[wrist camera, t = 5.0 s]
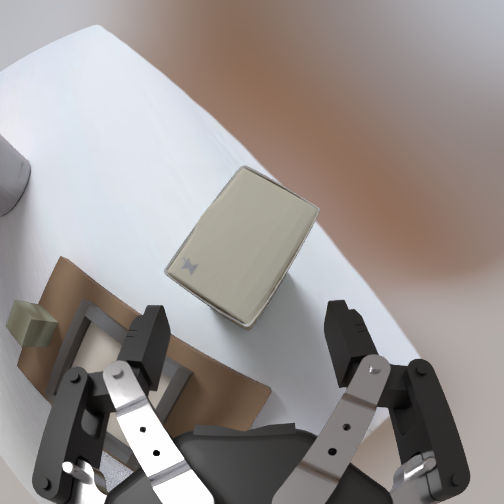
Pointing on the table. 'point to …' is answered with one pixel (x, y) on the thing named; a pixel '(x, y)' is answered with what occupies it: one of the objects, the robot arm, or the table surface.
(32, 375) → the build base
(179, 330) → the table surface
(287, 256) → the skincare box
